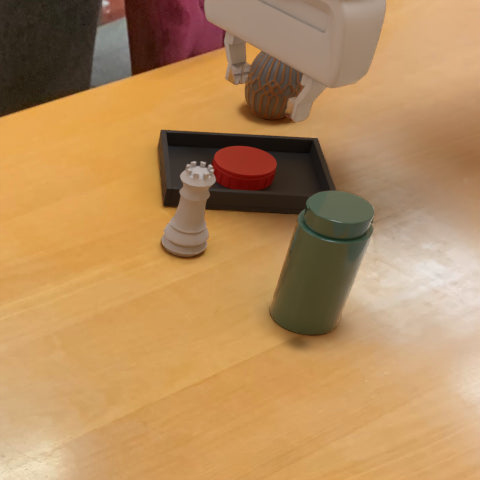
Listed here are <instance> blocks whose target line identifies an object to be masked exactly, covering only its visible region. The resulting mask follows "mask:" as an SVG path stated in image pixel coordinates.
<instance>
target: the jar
mask: <svg viewBox="0 0 480 480" xmlns="http://www.w3.org/2000/svg"><path fill="white" fill-rule="evenodd" d="M375 213H376V212H375V208H374V206H373V204H372V203H370V201H368V200H367V199H366V198H364V197H362V196H361V195H357V194H354V193H351V192H348V191H341V190H336V191H322V192H318V193H316V194H314V195H312V196H311V197H309V199H308V200H307V201H306V209H304V210H303V211H301V212H300V214H297V215H298V216H297V219H296V221H295V225H294V229H293V232H292V235H291V238H290V241H289V244H288V247H287V250H286V253H285V257H284V261H283V263H282V266H281V270H280V273H279V277H278V280H277V283H276V286H275V289H274V292H273V295H272V298H271V302H270V305H269V315H270V317H271V318H272V319H273V321H274V322H275V323H277V325H279V326H280V327H282V328H283V329H286V330H287V331H290V332H293V333H296V334H299V335H305V336H306V335H307V336H319V335H324V334H325V335H326V334H327V333H329V332H332V331H334V330H335V329H336V327H338V325H339V323H340V320H341V317H342V315H343V311H344V309H345V307H346V304H347V301H348V299H349V296H350V294H351V291H352V288H353V286H354V283H355V281H356V278H357V276H358V273H359V271H360V268H361V265H362V262H363V260H364V257H365V254H366V252H367V250H368V247H369V246H370V245H369V244H370V242H371V240H372V236H373V234H374V225H373V224H374V219H375V215H376V214H375Z"/></svg>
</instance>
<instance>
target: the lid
mask: <svg viewBox="0 0 480 480" xmlns="http://www.w3.org/2000/svg"><path fill="white" fill-rule="evenodd" d="M212 166H213V169H214V172H213V174H214V176H215V178H216V182H217V183H219V184H220V185H222V186H224V187H227V188H230V189H234V190H250V191H257V190H262V189H265V188H266V187H268V186H269V185H271V183H272V181H273V180H274V177H275V173H276V167H277V162H276V160H275V158H274V157H273V156H272V155H270V154H269V153H267V152H265V151H263V150H260V149H257V148H253V147H247V146H230V147H226V148H223V149H220V150H219V151H217V152H216V154H215V156H214V159H213V161H212Z"/></svg>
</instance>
